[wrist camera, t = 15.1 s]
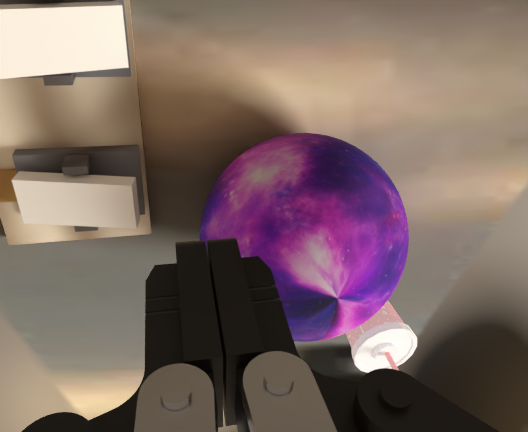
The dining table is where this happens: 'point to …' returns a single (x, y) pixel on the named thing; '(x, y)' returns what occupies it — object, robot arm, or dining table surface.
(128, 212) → the block
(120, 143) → the switch board
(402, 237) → the decorative orb
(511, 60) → the dining table surface
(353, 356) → the beverage cup
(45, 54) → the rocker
